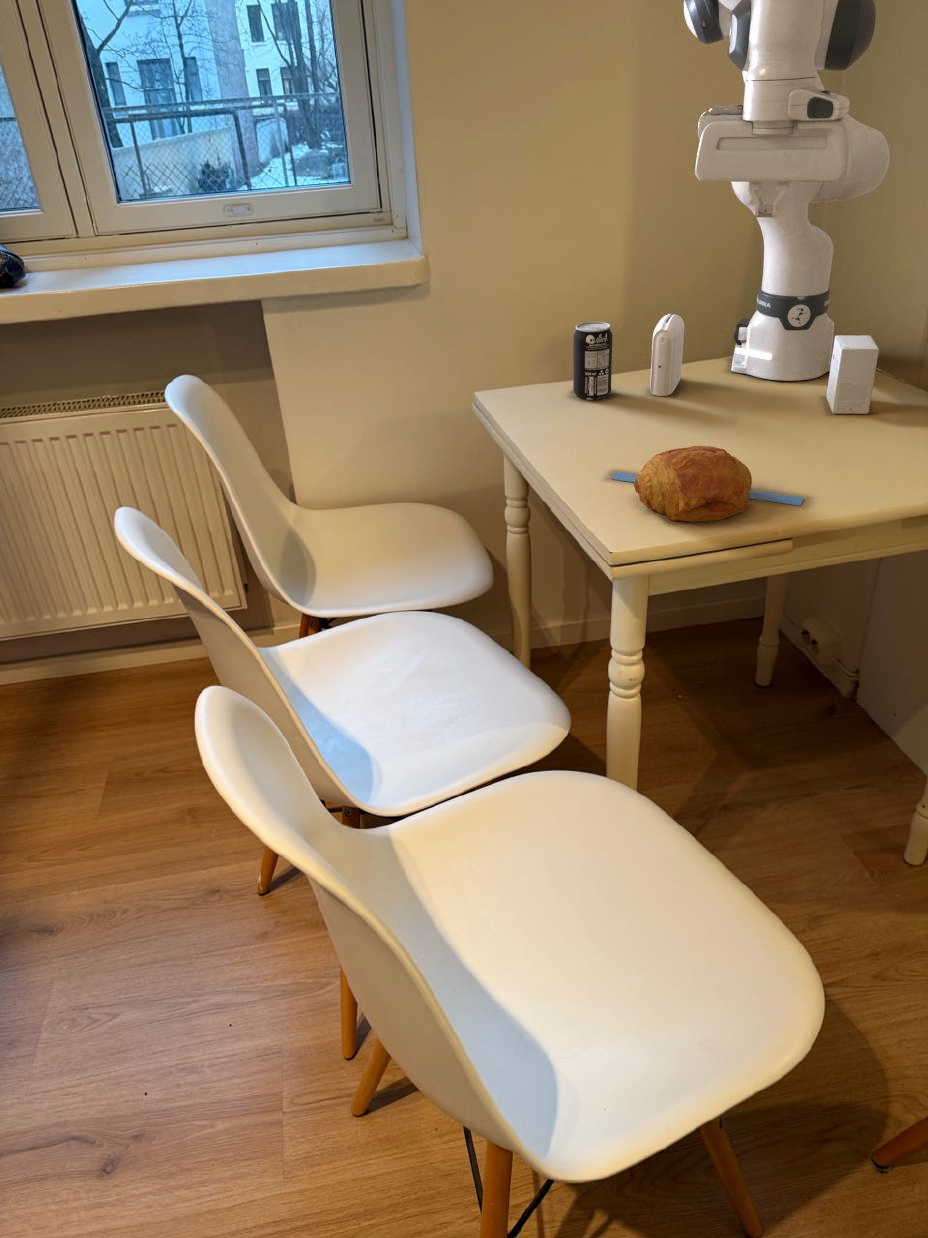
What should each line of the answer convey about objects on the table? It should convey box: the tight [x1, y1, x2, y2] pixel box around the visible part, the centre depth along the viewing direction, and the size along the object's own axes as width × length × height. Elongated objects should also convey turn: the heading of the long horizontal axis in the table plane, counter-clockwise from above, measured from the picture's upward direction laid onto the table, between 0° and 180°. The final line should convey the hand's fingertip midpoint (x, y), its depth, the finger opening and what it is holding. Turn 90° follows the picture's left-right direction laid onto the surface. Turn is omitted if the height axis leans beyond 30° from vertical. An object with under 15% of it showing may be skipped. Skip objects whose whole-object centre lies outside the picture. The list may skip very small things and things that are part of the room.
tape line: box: [611, 472, 805, 507], centre depth 129 cm, size 2×26×1 cm, turn 63°
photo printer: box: [649, 313, 685, 397], centre depth 163 cm, size 10×4×12 cm, turn 158°
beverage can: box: [572, 321, 613, 401], centre depth 162 cm, size 7×7×12 cm
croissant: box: [633, 445, 753, 523], centre depth 124 cm, size 14×16×8 cm
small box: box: [825, 334, 880, 415], centre depth 150 cm, size 8×6×10 cm
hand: (766, 216), depth 130 cm, fingers closed
